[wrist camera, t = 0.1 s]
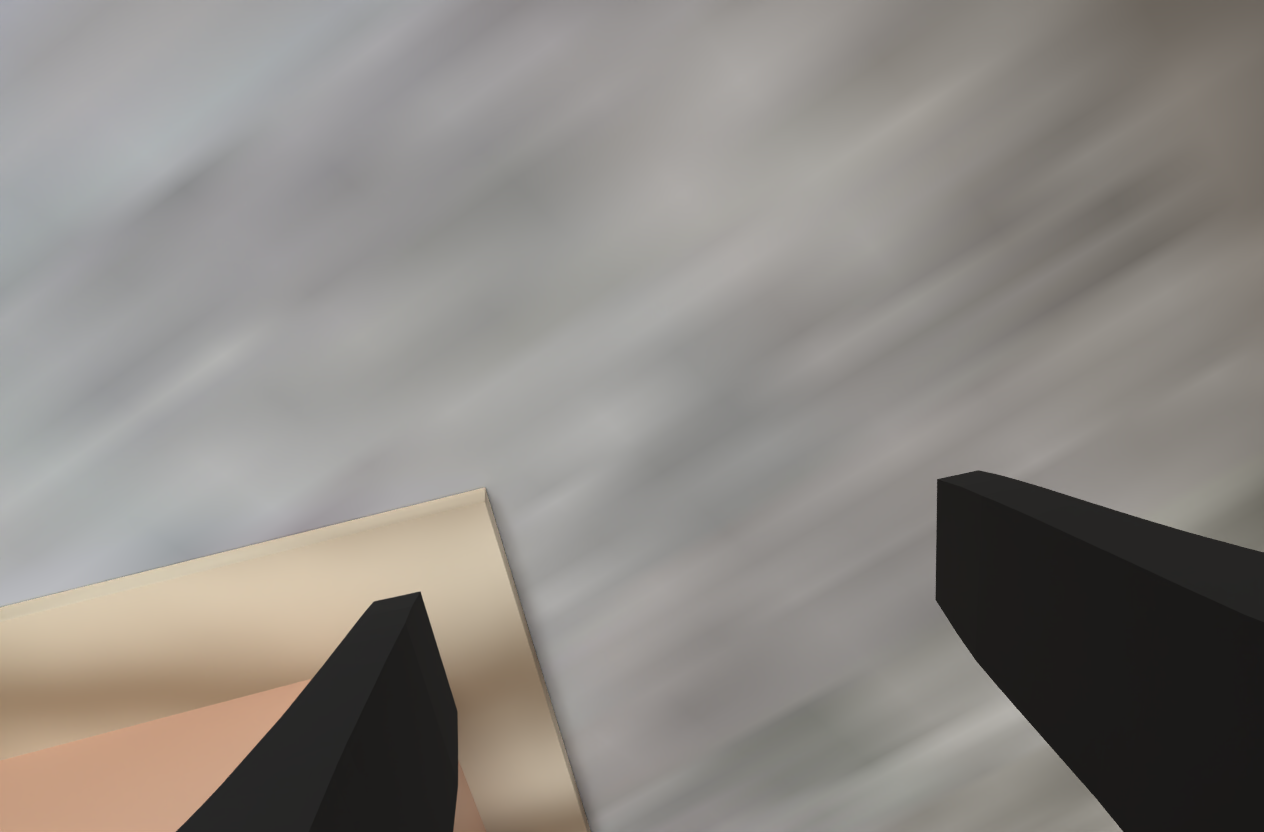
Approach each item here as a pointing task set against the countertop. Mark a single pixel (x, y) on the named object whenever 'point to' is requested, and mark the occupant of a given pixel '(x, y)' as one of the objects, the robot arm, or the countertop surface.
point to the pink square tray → (152, 771)
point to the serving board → (301, 645)
